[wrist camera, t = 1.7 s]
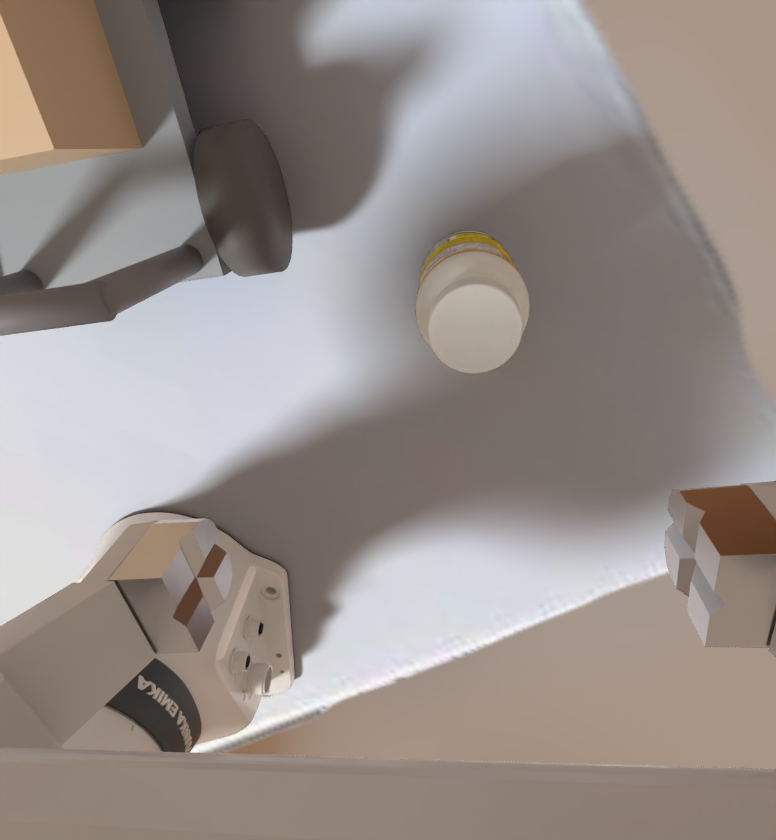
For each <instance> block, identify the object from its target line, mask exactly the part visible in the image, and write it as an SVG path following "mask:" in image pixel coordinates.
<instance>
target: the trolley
mask: <svg viewBox="0 0 776 840" xmlns="http://www.w3.org/2000/svg"><path fill="white" fill-rule="evenodd" d="M291 254H292V223H291V215H290V208H289V203H288V198H287V193H286V189H285V185H284V181H283V178H282V174H281V171H280V168H279V165H278V162H277V160H276V157H275V155H274V152H273V150H272V148H271V146H270V143H269V142H268V140H267V138H266V136H265V135H264V133H263V131H262V130H261V129H260V127H259V126H258V125H257V124H256V123H254V122H253V121H251V120H243V121H238V122H233V123H227V124H222V125H217V126H212V127H207V128H204V129H202V130H201V132H200V133H199V134H198V136H197V138H196V134H195V131H194V127H193V124H192V120H191V117H190V113H189V109H188V106H187V102H186V99H185V95H184V92H183V88H182V85H181V81H180V78H179V74H178V71H177V67H176V64H175V60H174V57H173V53H172V50H171V46H170V43H169V39H168V36H167V32H166V29H165V25H164V22H163V18H162V15H161V11H160V8H159V4H158V1H157V0H0V336H2V335H10V334H17V333H24V332H32V331H39V330H47V329H54V328H61V327H69V326H76V325H84V324H91V323H98V322H106V321H111V320H113V319H114V318H115V317H116V315H117V314H118V313H120V312H122V311H124V310H126V309H128V308H130V307H131V306H133V305H135V304H137V303H139V302H141V301H143V300H145V299H147V298H149V297H151V296H153V295H155V294H157V293H159V292H161V291H163V290H164V289H166V288H168V287H170V286H172V285H174V284H176V283H178V282H184V281H191V280H198V279H205V278H211V277H218V276H224V275H226V274H227V273H229V272H231V271H233V272H234V273H235V274H237V275H239V276H242V277H247V276H254V275H261V274H268V273H275V272H282V271H284V270H285V269H286V268H287V267H288V265H289V263H290V259H291Z"/></svg>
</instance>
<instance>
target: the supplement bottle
mask: <svg viewBox="0 0 776 840" xmlns="http://www.w3.org/2000/svg"><path fill="white" fill-rule="evenodd" d="M529 311H530V302H529V295H528V290H527V287H526V285H525V283H524V280H523V278H522V277H521V275H520V273H519V271H518V269H517V268H516V266H515V264H514V263H513V261H512V260H511V258H510V256H509V254H508V253H507V251H506V250H505V249H504V248H503V246H502V245H501V244H500V243H499V242H498V241H497V240H496V239H494V238H493V237H491V236H489V235H488V234H485V233H482V232H477V231H461V232H457V233H454V234H451V235H449V236H447V237H445V238H443V239H442V240H441V241H439V242H438V243H437V244H436V245H435V246H434V247H433V248H432V249H431V250H430V252H429V253H428V255H427V256H426V258H425V261H424V263H423V266H422V269H421V274H420V281H419V287H418V292H417V298H416V308H415V313H416V321H417V325H418V328H419V331H420V333H421V335H422V337H423V339H424V340H425V342H426V343H427V344H428V346H429V347H430V348H431V349H432V350H433V351H434V353H435V354H436V356H437V357H438V358H439V359H440V360H441V361H442V362H443V363H444V364H445V365H447V366H448V367H450V368H452V369H454V370H456V371H459V372H463V373H471V374H475V373H484V372H487V371H490V370H493V369H496V368H498V367H499V366H501V365H502V364H504V363H505V362H506V361H507V360H508V359H509V358H510V357H511V356H512V355H513V354H514V352H515V351H516V349H517V348H518V346H519V343H520V341H521V337H522V333H523V332H524V330H525V327H526V325H527V321H528V317H529Z"/></svg>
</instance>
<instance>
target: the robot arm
mask: <svg viewBox="0 0 776 840" xmlns="http://www.w3.org/2000/svg"><path fill="white" fill-rule="evenodd" d="M668 511H669V513H670V515H671V517H672V519H673V521H674V523H673V524H672V525H671V526H670V527H669V528H668V529H667V530H666V531H665V546H664V548H665V556H666V563H667V567H668V570H669V573H670V576H671V578H672V580H673V583H674V585H675V587H676V589H678V590H679V591H681V592H682V593H684V594H685V595H687V596H688V597H689V600H688V607H687V612H688V614H689V616H690V618H691V620H692V622H693V624H694V626H695V628H696V630H697V632H698V634H699V636H700V638H701V640H702V642H703V644H704V646H705V647H741V648H744V647H745V648H769V652H771V653H772V654H773V655H774V656H776V481H771V482H759V483H748V484H741V485H736V486H721V487H706V488H691V489H675V490H672V492H671V494H670V497H669V503H668ZM294 677H295V673H294V658H293V644H292V630H291V617H290V603H289V589H288V576H287V573H286V571H285V569H284V568H283V567H281V566H280V565H278V564H276V563H274V562H272V561H270V560H268V559H265V558H263V557H260V556H257V555H255V554H252V553H251V552H249V551H248V550H246V549H245V548H244V547H242V546H241V545H240V544H239V543H237V542H236V541H235V540H234V539H232V538H231V537H230V536H228V535H227V534H225V533H224V532H222V531H220V530H219V529H217V528H216V526H215V524H214V522H213V521H211V520H209V519H206V518H202V519H194V518H191V517H187V516H183V515H178V514H172V513H162V512H153V513H142V514H137V515H133V516H130V517H127V518H125V519H123V520H121V521H119V522H117V523H116V524H114V525H113V526H112V527H111V528H110V529H109V530H108V531H107V532H106V533H105V535H104V536H103V538H102V540H101V542H100V545H99V547H98V549H97V552H96V554H95V556H94V558H93V560H92V562H91V564H90V565H89V567H88V568H87V569H86V570H85V571H84V572H83V574H82V575H81V577H80V578H79V580H78V581H77V583H72V584H70V585H69V586H67V587H65V588H64V589H62V590H60V591H59V592H57V593H55V594H54V595H52V596H50V597H49V598H47V599H45V600H44V601H42V602H40V603H39V604H37V605H35V606H34V607H32V608H30V609H29V610H27V611H25V612H24V613H22V614H20V615H19V616H17V617H15V618H14V619H12V620H10V621H9V622H7V623H5V624H4V625H2V626H0V840H776V769H752V768H751V769H750V768H717V767H682V766H644V765H607V764H571V763H569V764H568V763H533V762H496V761H495V762H494V761H459V760H423V759H422V760H421V759H388V758H356V757H322V756H321V757H320V756H288V755H254V754H253V755H252V754H220V753H189V752H190V751H191V750H192V748H193V747H194V745H198V744H201V743H205V742H208V741H212V740H216V739H220V738H224V737H228V736H231V735H233V734H236V733H238V732H240V731H241V730H243V729H244V728H245V727H247V726H248V725H249V724H250V722H251V721H252V719H253V717H254V715H255V713H256V711H257V708H258V706H259V703H260V700H261V699H264V698H268V697H272V696H275V695H278V694H281V693H283V692H285V691H287V690H288V689H290V688H291V686H292V684H293V681H294Z"/></svg>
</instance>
